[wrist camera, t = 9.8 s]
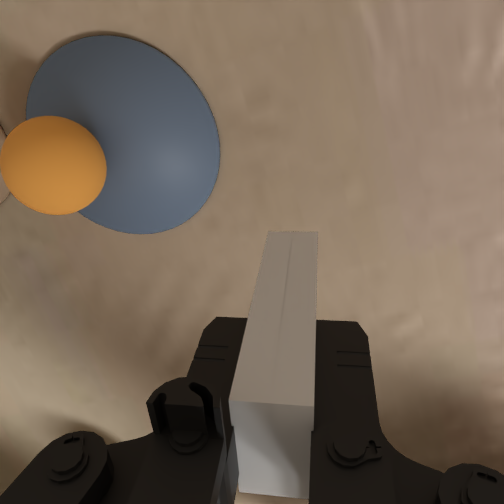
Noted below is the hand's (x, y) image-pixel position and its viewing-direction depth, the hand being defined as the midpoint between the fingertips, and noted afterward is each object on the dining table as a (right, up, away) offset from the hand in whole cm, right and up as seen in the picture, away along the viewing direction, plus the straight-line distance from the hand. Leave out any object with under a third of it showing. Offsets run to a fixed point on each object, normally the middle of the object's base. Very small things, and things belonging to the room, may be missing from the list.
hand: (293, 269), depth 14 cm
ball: (-12, +5, +11) cm, 17 cm away
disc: (-9, +7, +13) cm, 17 cm away
